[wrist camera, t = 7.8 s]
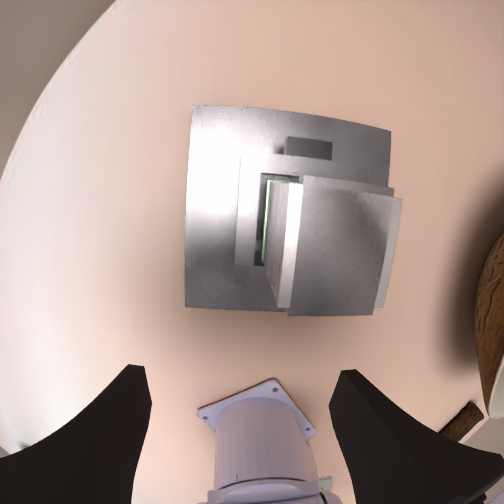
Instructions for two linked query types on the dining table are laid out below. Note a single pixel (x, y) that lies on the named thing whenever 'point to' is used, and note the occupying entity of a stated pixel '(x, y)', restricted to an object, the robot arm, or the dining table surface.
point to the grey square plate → (258, 190)
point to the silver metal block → (329, 245)
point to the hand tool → (463, 423)
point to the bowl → (491, 329)
